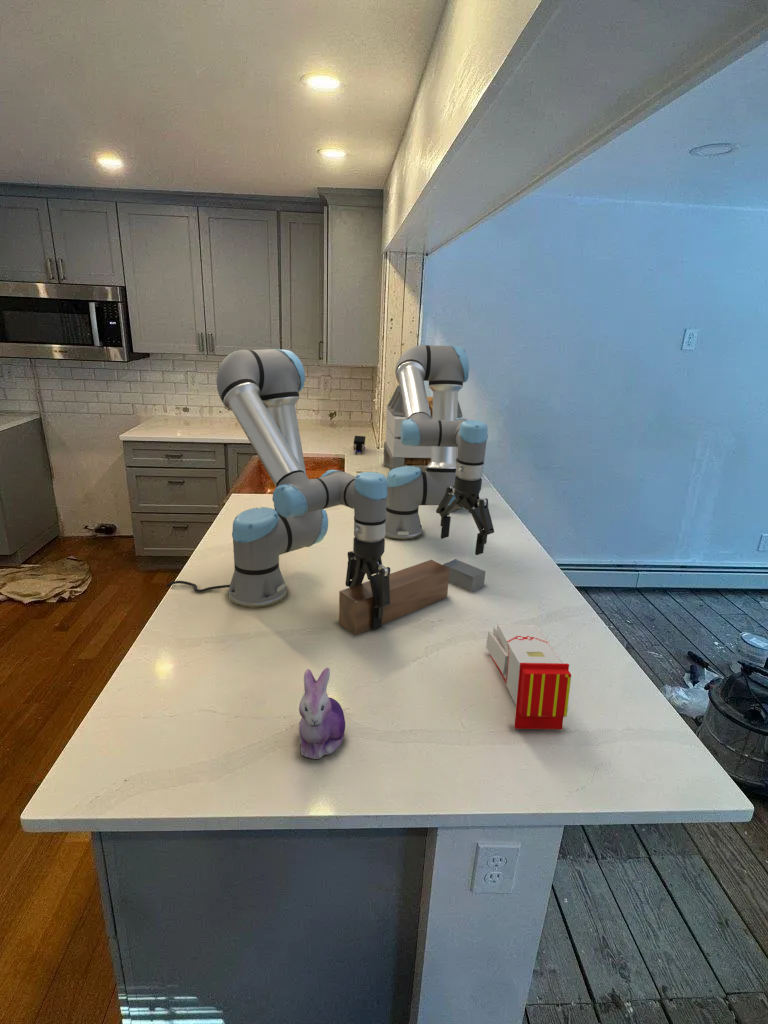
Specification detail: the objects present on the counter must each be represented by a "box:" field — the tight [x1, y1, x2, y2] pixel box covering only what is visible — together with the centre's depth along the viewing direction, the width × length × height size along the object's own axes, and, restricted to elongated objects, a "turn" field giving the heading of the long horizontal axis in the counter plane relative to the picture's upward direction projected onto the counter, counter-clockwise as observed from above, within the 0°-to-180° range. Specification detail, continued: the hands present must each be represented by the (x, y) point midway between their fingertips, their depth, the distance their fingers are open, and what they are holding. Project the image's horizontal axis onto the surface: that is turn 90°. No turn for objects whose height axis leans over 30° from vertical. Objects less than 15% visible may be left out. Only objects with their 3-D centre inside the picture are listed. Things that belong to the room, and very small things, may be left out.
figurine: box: [298, 667, 346, 760], centre depth 100 cm, size 9×10×15 cm
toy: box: [485, 623, 572, 730], centre depth 120 cm, size 12×13×30 cm
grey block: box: [442, 558, 486, 593], centre depth 166 cm, size 11×6×5 cm, turn 45°
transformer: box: [383, 384, 463, 471], centre depth 268 cm, size 34×33×41 cm
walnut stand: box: [338, 559, 450, 636], centre depth 148 cm, size 7×32×9 cm, turn 131°
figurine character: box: [352, 435, 367, 455], centre depth 309 cm, size 7×8×15 cm
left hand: (366, 620), depth 143 cm, fingers open, 7 cm apart
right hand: (461, 545), depth 167 cm, fingers open, 13 cm apart
